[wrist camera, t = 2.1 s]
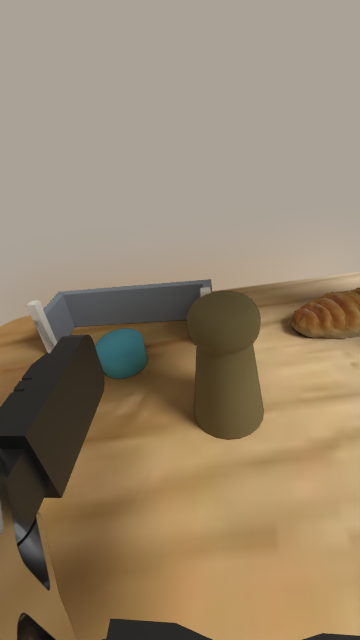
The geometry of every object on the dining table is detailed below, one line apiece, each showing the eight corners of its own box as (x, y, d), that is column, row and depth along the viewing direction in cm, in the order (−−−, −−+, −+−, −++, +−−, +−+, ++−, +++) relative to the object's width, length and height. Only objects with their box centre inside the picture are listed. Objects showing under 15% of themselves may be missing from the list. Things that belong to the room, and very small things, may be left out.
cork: (197, 384, 30) (183, 283, 24) (260, 385, 29) (263, 278, 23) (190, 438, 25) (171, 326, 19) (267, 441, 24) (272, 323, 18)
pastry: (309, 351, 32) (313, 321, 30) (280, 319, 38) (281, 292, 36) (391, 333, 33) (400, 302, 31) (350, 304, 39) (356, 277, 37)
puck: (150, 348, 36) (145, 327, 34) (143, 378, 32) (137, 356, 30) (109, 350, 37) (103, 330, 35) (97, 380, 32) (89, 358, 31)
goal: (213, 313, 40) (209, 264, 37) (214, 346, 34) (210, 291, 31) (70, 323, 43) (53, 277, 39) (49, 355, 37) (26, 305, 33)
